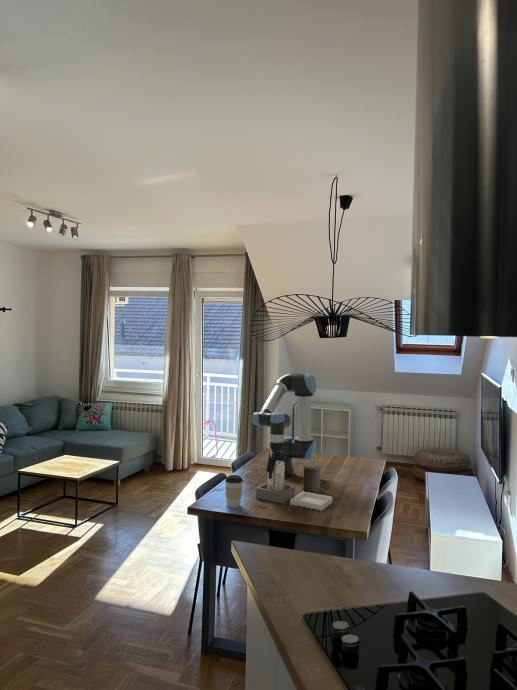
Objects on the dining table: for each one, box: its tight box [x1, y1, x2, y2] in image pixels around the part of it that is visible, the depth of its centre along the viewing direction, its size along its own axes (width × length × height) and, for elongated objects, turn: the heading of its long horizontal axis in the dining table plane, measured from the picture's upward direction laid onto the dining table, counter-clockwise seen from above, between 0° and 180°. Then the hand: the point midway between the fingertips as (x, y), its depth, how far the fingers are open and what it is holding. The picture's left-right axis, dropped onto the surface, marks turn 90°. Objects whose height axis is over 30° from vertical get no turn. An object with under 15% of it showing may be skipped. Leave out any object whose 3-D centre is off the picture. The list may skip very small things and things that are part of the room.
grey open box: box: [255, 481, 296, 504], centre depth 265 cm, size 16×15×6 cm
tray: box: [289, 491, 333, 512], centre depth 255 cm, size 17×16×3 cm
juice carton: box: [267, 461, 285, 492], centre depth 265 cm, size 8×9×19 cm
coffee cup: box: [224, 474, 244, 508], centre depth 250 cm, size 9×9×15 cm
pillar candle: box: [302, 463, 322, 494], centre depth 279 cm, size 10×10×15 cm
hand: (275, 481), depth 265 cm, fingers open, 11 cm apart
